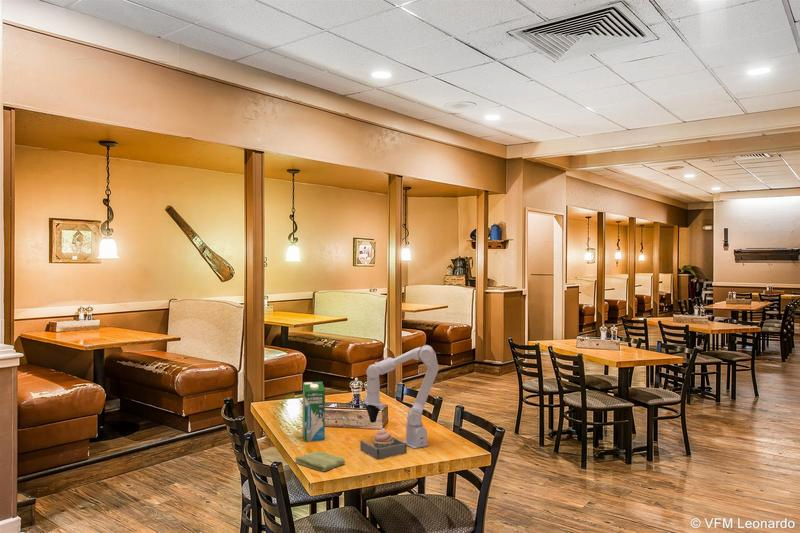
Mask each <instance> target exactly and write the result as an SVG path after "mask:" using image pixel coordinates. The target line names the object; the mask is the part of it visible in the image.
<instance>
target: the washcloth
mask: <svg viewBox="0 0 800 533" xmlns="http://www.w3.org/2000/svg"><path fill="white" fill-rule="evenodd" d="M294 459H295V464H296V465H299V466H303V467H306V468H310V469H312V470H317V471H319V472H322V473H323V472H327V471H329V470H333V469H334V468H337V467H340V466H344V465H345V463H346V461H345V459H344V457H343V456H339V455H338V456H337V455H334V454H331V453H326V452H323V451H313V452H308V453H305V454H303V455H301V456H300V455H298V456H296V457H295V458H294Z"/></svg>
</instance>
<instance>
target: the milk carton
mask: <svg viewBox="0 0 800 533" xmlns="http://www.w3.org/2000/svg"><path fill="white" fill-rule="evenodd" d="M323 383H324V382H323V381H305V382H304V381H303V383H302V438H303V440H304V442H317V441H319V442H320V441H325V438H326V437H325V434H326V433H325V428H326V427H325V426H326V425H325V424H326V422H325V420H326V418H325V417H326V415H325V414H326V413H325V411H326V409H325V408H326V405H325V404H326V390H325V387H324V384H323Z"/></svg>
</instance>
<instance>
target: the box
mask: <svg viewBox="0 0 800 533" xmlns="http://www.w3.org/2000/svg"><path fill="white" fill-rule="evenodd" d="M392 439H393V440H394V441H393V444H392V446H389V447H385V448H380V449H377V448H375V447H374V445H372V444H369V443H368V442H366V441H364V440H360V445H359V446H360V451H362V452H363V453H365V454H366V455H368V454H369V456H370V457H371V458H374V459H376V460H380V459H381V458H382V459H386V458H390V456H391V457H394V456H400V455H403V453H404V454H407V446H408V445H407V444H406V443H404V441H402V440H400V439H398V438H396V437H394V436H392ZM399 454H400V455H399ZM385 457H386V458H385Z"/></svg>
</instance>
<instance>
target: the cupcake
mask: <svg viewBox="0 0 800 533" xmlns="http://www.w3.org/2000/svg"><path fill="white" fill-rule="evenodd" d="M392 437H393V436H392V435H391V433H390V432H389V431H387V430H386V429H385V428H384V427H383V428H381V429H379V430H377V433H376V434H374V438H372V443H373V447H375V448H377V449H380V448H385V447H389V446H392V444H393V441H394V440H393V439H392Z"/></svg>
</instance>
